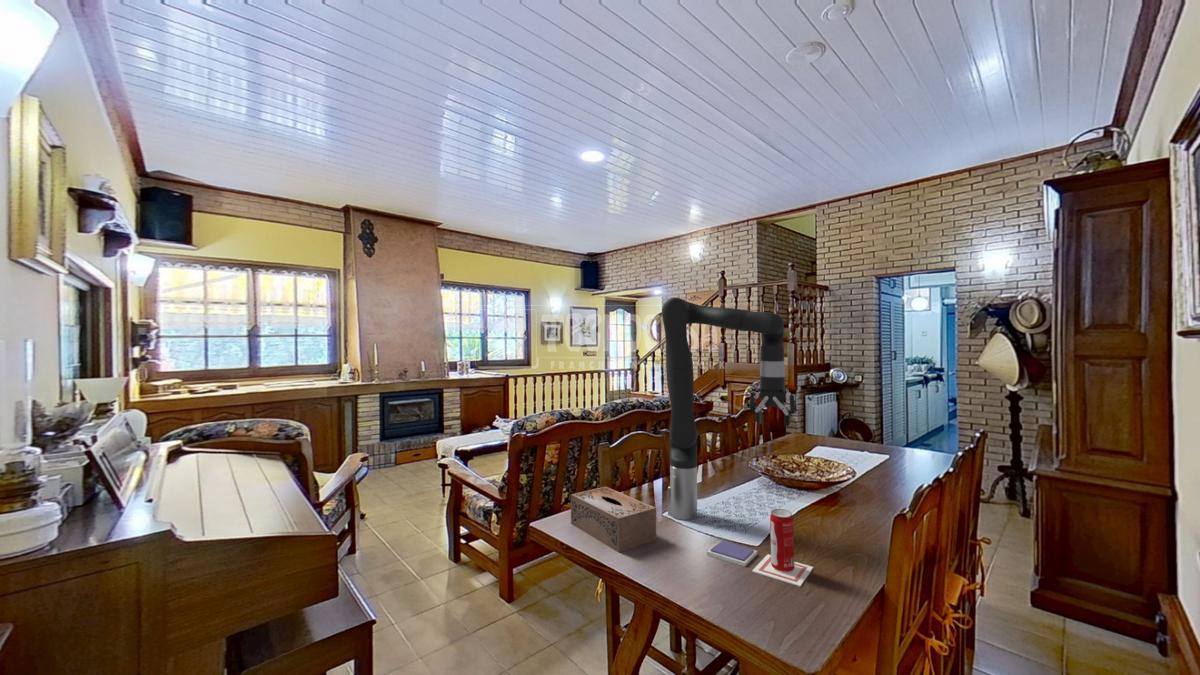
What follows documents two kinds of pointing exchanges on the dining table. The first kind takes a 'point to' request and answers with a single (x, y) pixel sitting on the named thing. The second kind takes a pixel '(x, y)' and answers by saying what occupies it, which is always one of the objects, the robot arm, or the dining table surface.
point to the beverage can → (782, 540)
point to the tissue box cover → (613, 518)
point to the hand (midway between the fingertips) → (772, 425)
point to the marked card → (791, 577)
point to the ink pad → (732, 553)
